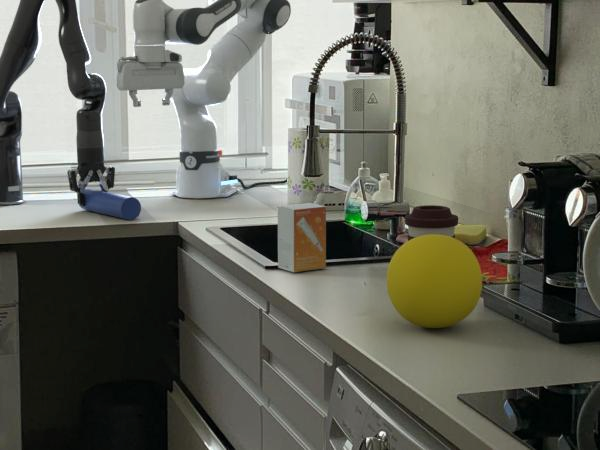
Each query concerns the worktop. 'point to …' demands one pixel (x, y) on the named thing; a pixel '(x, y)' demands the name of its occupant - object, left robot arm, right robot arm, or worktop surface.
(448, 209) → the coffee cup
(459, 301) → the toy
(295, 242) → the small box
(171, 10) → the right robot arm
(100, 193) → the rod
